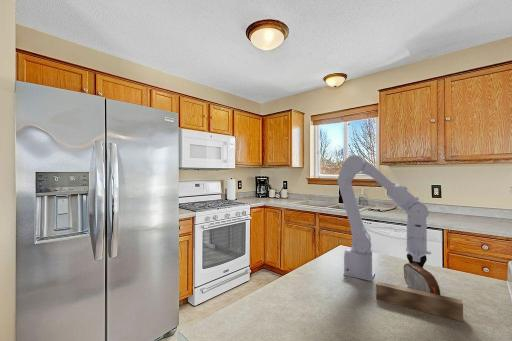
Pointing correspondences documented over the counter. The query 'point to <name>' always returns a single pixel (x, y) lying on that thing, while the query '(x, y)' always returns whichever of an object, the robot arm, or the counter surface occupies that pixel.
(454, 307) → the walnut board
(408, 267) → the tin
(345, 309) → the counter surface
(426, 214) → the robot arm
